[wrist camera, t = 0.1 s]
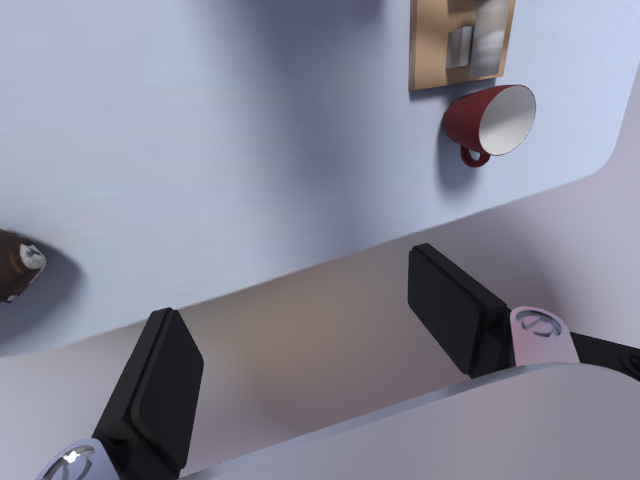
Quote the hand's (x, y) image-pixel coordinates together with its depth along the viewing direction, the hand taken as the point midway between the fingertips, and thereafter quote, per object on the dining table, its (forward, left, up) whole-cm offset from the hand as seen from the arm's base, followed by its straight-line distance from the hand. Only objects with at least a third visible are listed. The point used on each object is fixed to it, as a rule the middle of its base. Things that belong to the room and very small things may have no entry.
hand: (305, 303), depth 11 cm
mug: (0, +30, -31) cm, 43 cm away
